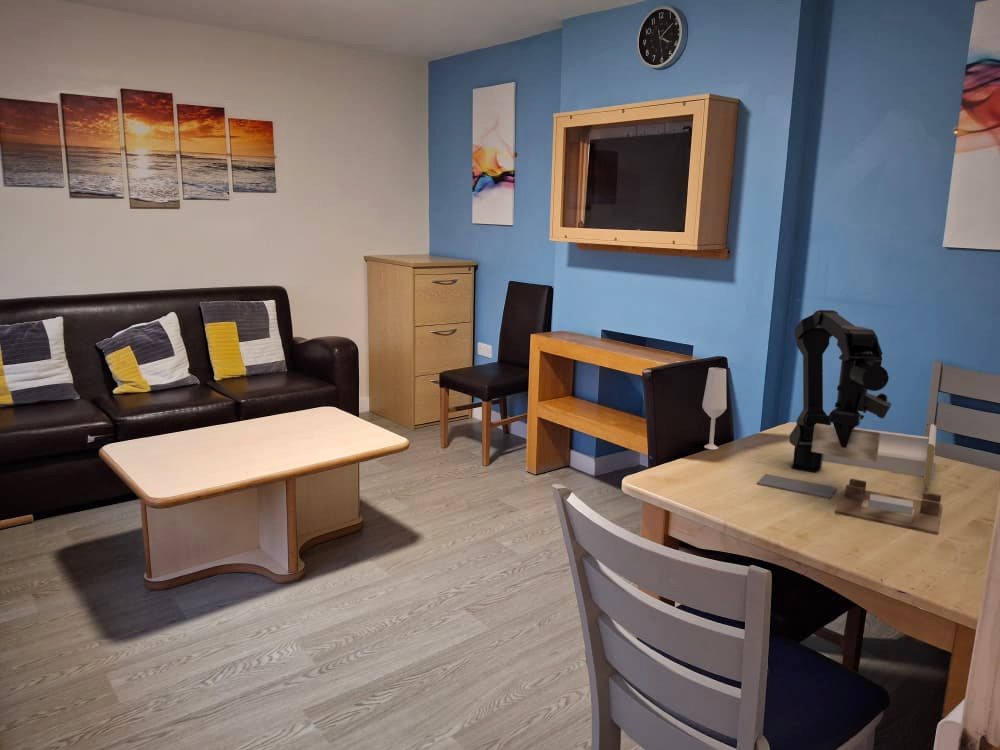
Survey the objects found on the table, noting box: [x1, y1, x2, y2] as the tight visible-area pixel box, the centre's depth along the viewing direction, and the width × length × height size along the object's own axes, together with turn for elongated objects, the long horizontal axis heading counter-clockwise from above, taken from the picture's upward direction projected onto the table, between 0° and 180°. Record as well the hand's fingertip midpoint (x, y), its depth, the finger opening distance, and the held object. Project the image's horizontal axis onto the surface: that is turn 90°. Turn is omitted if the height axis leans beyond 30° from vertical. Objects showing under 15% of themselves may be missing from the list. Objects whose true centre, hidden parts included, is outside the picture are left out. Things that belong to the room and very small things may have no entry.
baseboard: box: [923, 423, 937, 488], centre depth 186 cm, size 31×3×12 cm, turn 148°
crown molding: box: [823, 424, 937, 479], centre depth 196 cm, size 31×12×4 cm
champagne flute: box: [701, 367, 727, 450], centre depth 208 cm, size 7×7×24 cm
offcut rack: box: [834, 478, 943, 535], centre depth 165 cm, size 20×20×4 cm
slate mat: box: [756, 473, 837, 500], centre depth 180 cm, size 17×9×1 cm, turn 56°
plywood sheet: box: [811, 423, 880, 463], centre depth 172 cm, size 14×3×6 cm, turn 58°
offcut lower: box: [860, 500, 914, 524], centre depth 160 cm, size 10×5×2 cm, turn 56°
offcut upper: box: [869, 494, 913, 515], centre depth 159 cm, size 8×4×2 cm, turn 60°
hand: (844, 445), depth 172 cm, fingers closed on plywood sheet, 3 cm apart
